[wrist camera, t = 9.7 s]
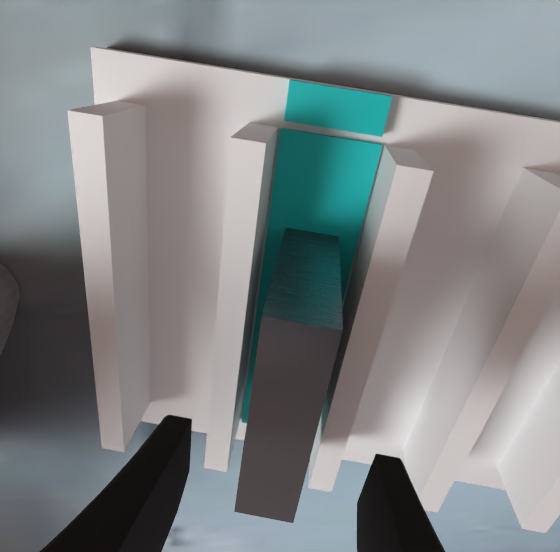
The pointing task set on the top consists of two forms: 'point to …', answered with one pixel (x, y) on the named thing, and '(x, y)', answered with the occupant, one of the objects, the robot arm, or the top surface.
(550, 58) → the top surface
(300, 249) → the rectangular block
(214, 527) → the top surface
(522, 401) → the slot rack
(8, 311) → the hip flask
